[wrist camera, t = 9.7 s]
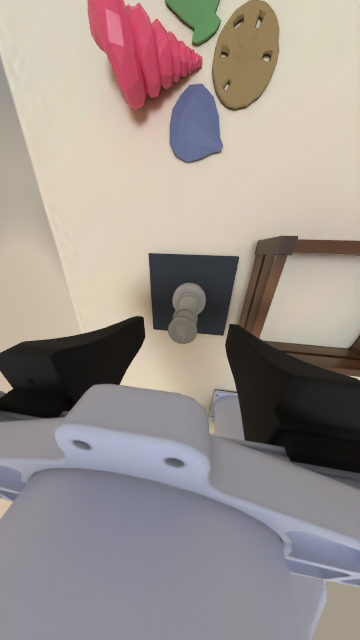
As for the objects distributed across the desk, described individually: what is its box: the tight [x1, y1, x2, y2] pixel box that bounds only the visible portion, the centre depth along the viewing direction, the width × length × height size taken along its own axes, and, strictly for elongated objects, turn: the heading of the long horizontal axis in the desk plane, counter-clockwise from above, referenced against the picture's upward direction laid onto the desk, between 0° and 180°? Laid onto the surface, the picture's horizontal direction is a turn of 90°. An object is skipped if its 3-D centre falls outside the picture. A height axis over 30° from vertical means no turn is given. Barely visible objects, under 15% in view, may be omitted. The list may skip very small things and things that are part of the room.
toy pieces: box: [88, 0, 279, 162], centre depth 9 cm, size 12×11×4 cm
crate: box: [239, 236, 360, 377], centre depth 16 cm, size 14×17×5 cm
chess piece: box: [168, 283, 206, 344], centre depth 15 cm, size 4×4×10 cm
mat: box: [149, 253, 239, 336], centre depth 19 cm, size 11×11×1 cm
